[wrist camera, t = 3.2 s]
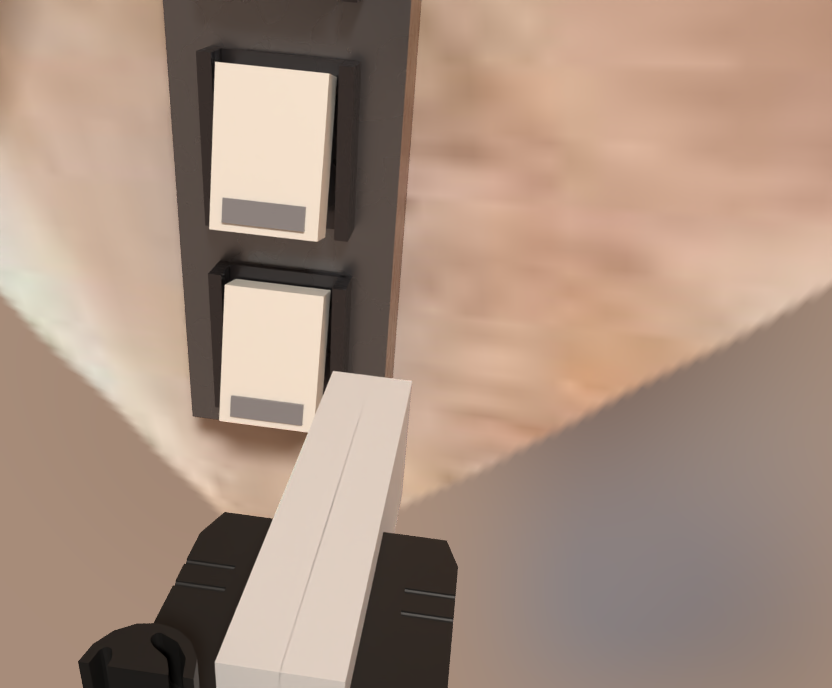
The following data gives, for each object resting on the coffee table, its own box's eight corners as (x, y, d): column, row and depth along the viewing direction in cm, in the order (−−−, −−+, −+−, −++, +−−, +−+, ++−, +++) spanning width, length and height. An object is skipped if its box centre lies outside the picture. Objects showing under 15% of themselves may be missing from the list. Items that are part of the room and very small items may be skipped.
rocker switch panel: (184, -287, 30) (119, -329, 25) (441, -267, 29) (427, -306, 24) (218, 377, 44) (181, 433, 39) (391, 399, 44) (375, 459, 39)
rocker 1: (228, 65, 32) (213, 61, 30) (336, 77, 31) (328, 73, 30) (222, 225, 33) (207, 229, 31) (325, 237, 33) (316, 242, 31)
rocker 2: (235, 278, 36) (223, 285, 34) (331, 290, 36) (323, 297, 34) (230, 409, 38) (217, 422, 36) (320, 421, 37) (312, 434, 36)
